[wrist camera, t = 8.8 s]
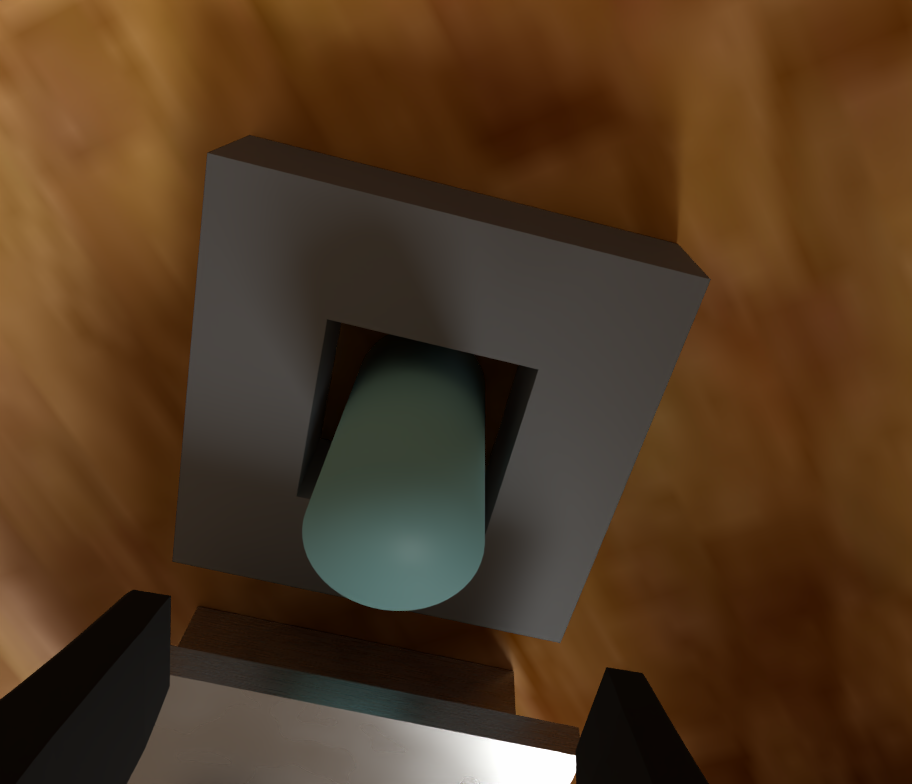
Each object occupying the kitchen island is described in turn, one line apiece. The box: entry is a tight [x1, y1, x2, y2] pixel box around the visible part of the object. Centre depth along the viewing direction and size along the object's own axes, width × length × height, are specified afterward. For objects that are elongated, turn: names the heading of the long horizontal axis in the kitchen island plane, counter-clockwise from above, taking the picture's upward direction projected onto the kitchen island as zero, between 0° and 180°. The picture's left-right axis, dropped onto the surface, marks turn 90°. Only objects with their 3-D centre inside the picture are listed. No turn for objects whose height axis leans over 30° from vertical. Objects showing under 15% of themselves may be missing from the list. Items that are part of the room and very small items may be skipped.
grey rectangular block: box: [127, 606, 580, 784], centre depth 21 cm, size 11×6×7 cm, turn 76°
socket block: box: [172, 135, 711, 643], centre depth 19 cm, size 11×11×3 cm
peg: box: [302, 334, 485, 611], centre depth 17 cm, size 4×4×7 cm
